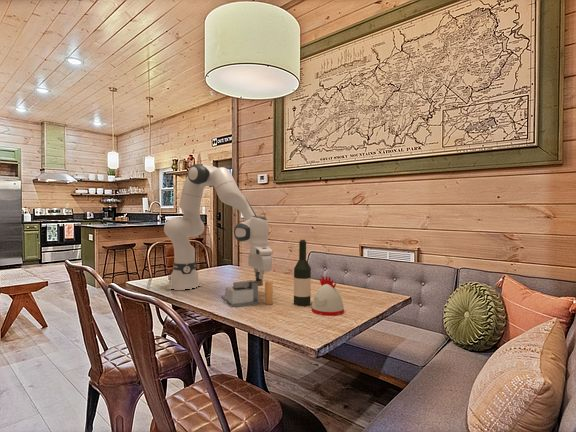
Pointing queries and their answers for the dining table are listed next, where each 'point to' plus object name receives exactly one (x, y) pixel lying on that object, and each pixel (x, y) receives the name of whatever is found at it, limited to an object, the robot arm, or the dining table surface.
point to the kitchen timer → (327, 299)
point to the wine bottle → (302, 278)
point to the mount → (242, 295)
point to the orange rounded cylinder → (268, 293)
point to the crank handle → (248, 282)
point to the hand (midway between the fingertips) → (258, 278)
